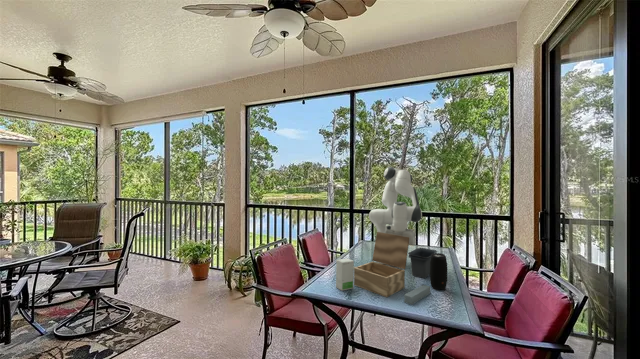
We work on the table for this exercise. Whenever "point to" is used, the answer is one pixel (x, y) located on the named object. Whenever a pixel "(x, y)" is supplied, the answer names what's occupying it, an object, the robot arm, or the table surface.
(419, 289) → the grey rectangular bar
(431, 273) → the portable speaker
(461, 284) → the table surface
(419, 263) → the storage bin
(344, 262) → the skincare box
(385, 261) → the lid
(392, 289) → the box
